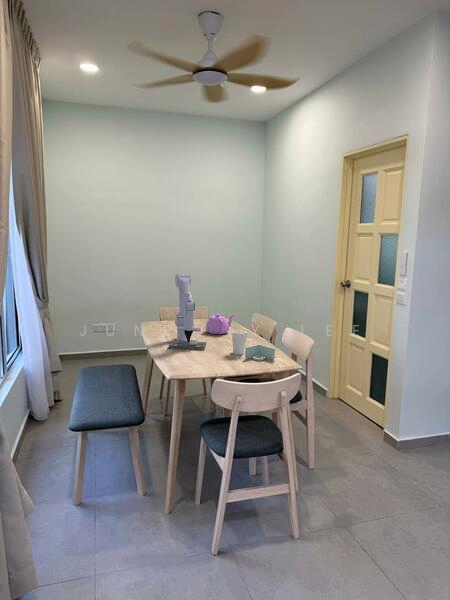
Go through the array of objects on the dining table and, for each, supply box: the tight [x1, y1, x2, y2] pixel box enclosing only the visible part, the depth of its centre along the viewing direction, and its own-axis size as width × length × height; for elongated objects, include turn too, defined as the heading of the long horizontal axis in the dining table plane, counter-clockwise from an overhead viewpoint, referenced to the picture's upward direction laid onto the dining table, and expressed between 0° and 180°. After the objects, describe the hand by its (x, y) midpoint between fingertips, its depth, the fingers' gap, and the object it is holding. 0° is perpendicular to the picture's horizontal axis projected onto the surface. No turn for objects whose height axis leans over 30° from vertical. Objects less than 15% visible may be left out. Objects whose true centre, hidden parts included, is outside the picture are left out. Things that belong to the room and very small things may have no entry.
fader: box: [190, 337, 198, 345], centre depth 257 cm, size 5×4×3 cm
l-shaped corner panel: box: [244, 343, 276, 362], centre depth 236 cm, size 12×12×8 cm
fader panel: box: [168, 340, 207, 351], centre depth 258 cm, size 12×22×2 cm, turn 88°
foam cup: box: [231, 329, 248, 355], centre depth 248 cm, size 10×9×13 cm
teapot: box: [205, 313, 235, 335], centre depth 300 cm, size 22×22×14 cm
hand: (188, 342), depth 258 cm, fingers closed
